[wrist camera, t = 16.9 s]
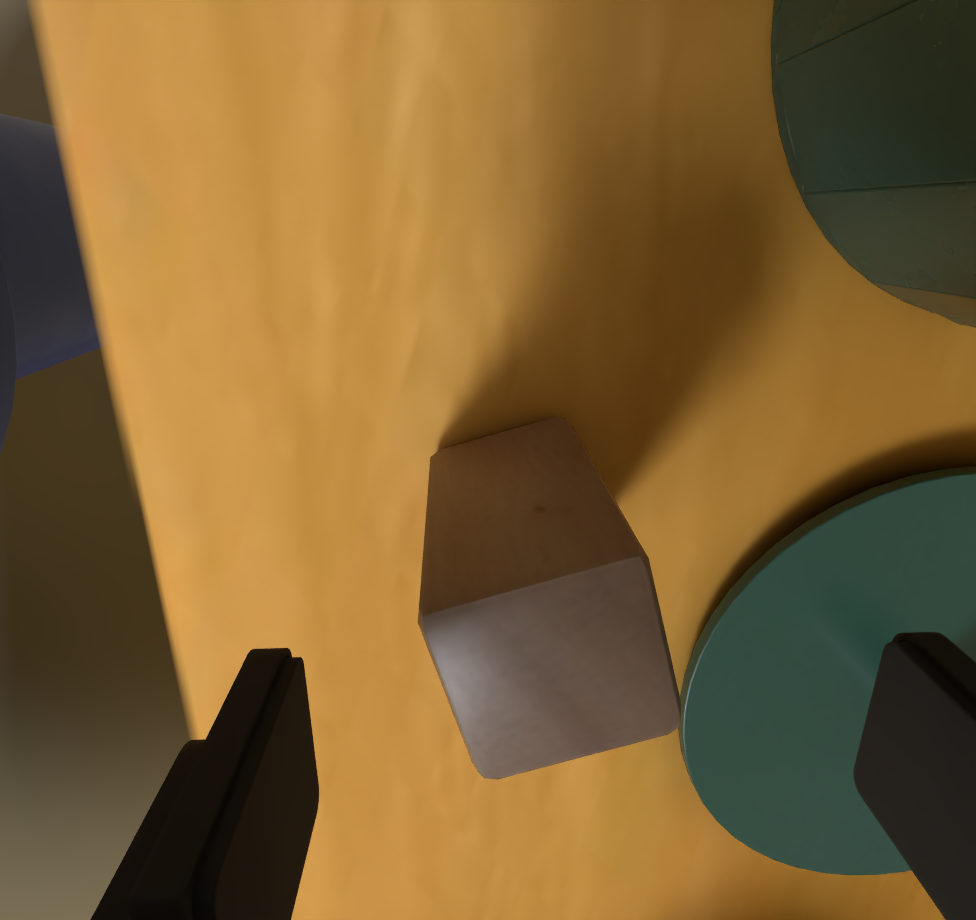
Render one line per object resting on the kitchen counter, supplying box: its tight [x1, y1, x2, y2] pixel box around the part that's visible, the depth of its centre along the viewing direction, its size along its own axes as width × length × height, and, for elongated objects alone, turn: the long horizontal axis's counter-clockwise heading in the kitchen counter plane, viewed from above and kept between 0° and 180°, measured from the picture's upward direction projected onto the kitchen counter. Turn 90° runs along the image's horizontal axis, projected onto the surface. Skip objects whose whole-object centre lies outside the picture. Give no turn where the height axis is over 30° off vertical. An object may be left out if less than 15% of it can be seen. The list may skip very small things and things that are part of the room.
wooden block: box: [418, 417, 681, 779], centre depth 15 cm, size 4×4×8 cm
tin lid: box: [678, 466, 976, 875], centre depth 19 cm, size 16×16×6 cm
